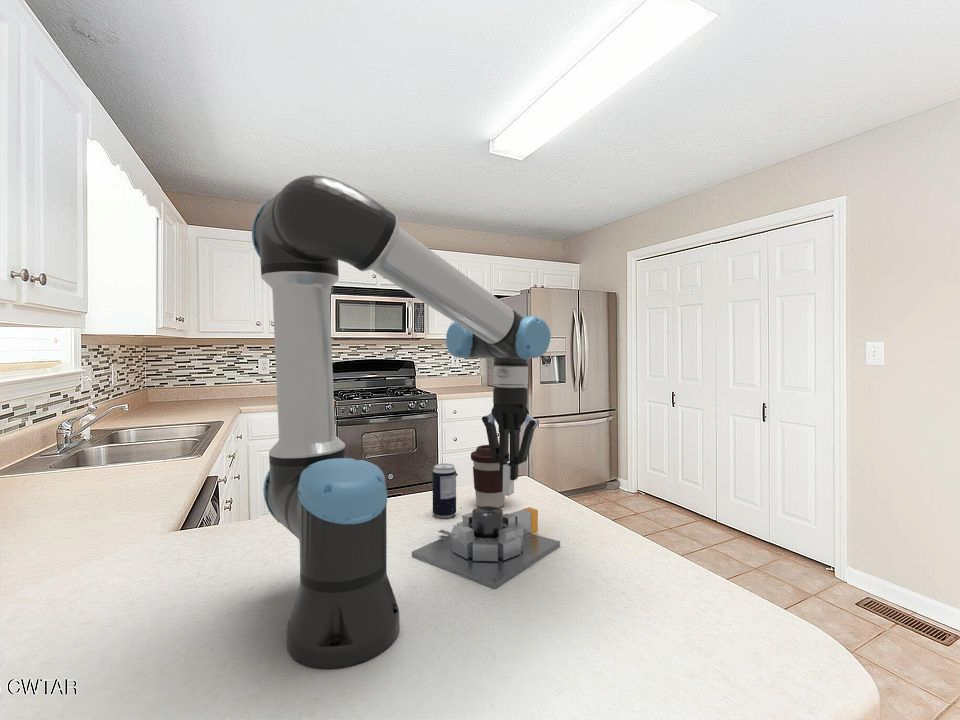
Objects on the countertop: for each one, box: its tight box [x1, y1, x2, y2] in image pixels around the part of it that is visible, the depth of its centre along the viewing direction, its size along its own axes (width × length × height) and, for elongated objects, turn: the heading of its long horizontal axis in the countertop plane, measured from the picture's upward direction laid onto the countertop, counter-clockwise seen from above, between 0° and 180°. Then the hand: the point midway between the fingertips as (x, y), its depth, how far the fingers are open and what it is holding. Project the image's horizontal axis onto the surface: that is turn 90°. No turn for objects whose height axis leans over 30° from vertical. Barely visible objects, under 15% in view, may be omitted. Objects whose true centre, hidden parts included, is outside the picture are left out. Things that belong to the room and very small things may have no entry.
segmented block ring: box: [450, 506, 539, 561], centre depth 95 cm, size 14×20×5 cm
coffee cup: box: [470, 444, 510, 509], centre depth 122 cm, size 10×10×15 cm
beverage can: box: [431, 463, 457, 519], centre depth 114 cm, size 6×6×12 cm
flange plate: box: [411, 506, 561, 590], centre depth 95 cm, size 24×23×8 cm
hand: (508, 493), depth 103 cm, fingers closed
